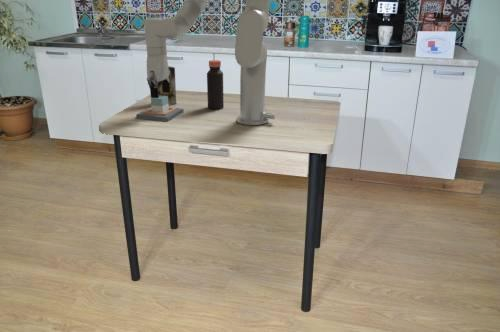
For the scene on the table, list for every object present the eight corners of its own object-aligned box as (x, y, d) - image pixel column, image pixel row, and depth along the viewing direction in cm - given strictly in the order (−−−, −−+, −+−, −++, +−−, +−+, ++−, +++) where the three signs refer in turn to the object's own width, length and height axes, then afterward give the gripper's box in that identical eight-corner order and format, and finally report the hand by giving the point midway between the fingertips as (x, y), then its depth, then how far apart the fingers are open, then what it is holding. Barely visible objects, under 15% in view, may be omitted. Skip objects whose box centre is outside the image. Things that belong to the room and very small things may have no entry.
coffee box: (159, 107, 204) (156, 69, 197) (151, 104, 208) (149, 67, 202) (177, 103, 209) (175, 67, 203) (169, 101, 214) (167, 65, 207)
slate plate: (183, 112, 196) (183, 106, 195) (168, 121, 183) (167, 115, 182) (153, 109, 200) (153, 104, 199) (136, 118, 187) (136, 112, 186)
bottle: (221, 110, 199) (220, 62, 192) (206, 109, 200) (204, 62, 193) (225, 106, 205) (224, 59, 198) (210, 105, 206) (208, 59, 199)
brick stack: (168, 110, 192) (167, 96, 190) (163, 113, 188) (162, 98, 186) (157, 109, 194) (156, 95, 192) (151, 112, 189) (150, 97, 187)
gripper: (158, 48, 191) (162, 89, 197) (136, 54, 175) (141, 99, 182) (175, 48, 189) (178, 90, 195) (154, 54, 173) (158, 100, 180)
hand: (160, 94), depth 188 cm, fingers open, 9 cm apart
